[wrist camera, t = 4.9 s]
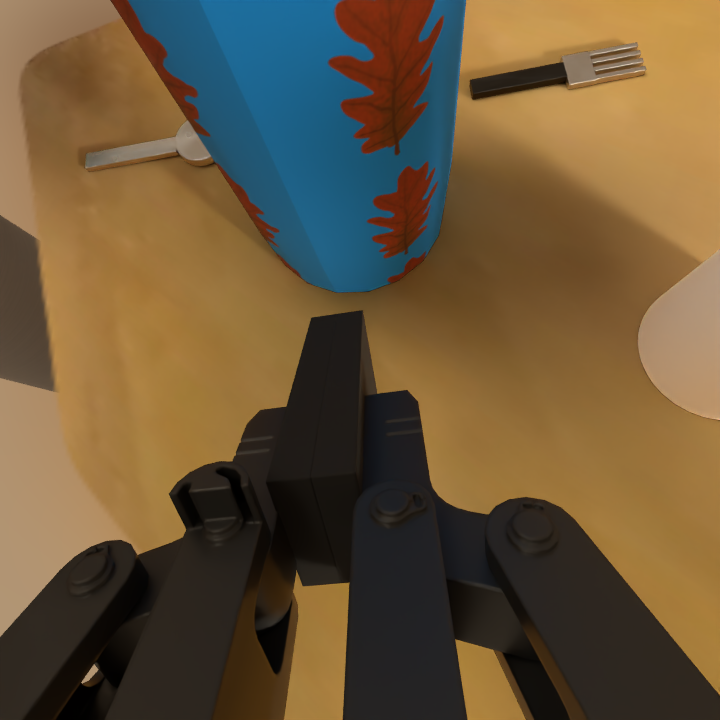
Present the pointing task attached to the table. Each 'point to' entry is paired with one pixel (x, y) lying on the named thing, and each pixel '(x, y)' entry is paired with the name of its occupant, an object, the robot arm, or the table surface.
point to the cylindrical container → (686, 341)
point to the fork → (566, 72)
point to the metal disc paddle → (153, 151)
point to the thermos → (320, 120)
